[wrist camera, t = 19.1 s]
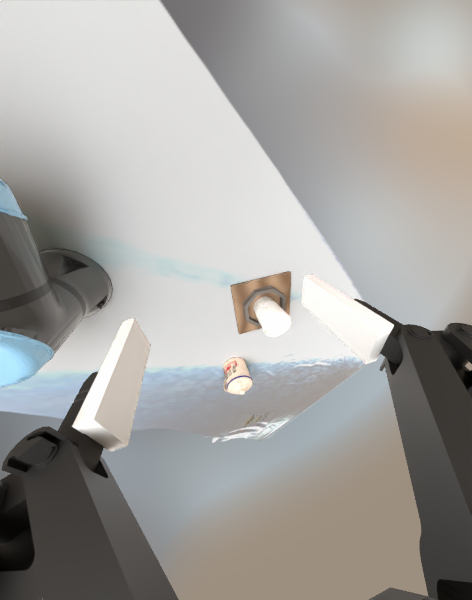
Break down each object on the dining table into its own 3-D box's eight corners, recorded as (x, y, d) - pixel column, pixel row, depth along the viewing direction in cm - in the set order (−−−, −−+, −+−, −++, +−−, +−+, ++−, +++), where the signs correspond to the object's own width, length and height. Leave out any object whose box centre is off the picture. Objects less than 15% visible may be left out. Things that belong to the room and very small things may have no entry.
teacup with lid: (232, 353, 63) (241, 381, 54) (249, 360, 68) (260, 387, 58) (213, 373, 66) (217, 403, 57) (230, 379, 71) (237, 408, 61)
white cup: (251, 318, 55) (263, 339, 47) (251, 297, 51) (264, 316, 43) (274, 313, 56) (289, 333, 48) (275, 292, 52) (292, 310, 44)
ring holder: (238, 331, 58) (240, 337, 56) (230, 285, 49) (232, 290, 46) (287, 318, 61) (291, 323, 58) (289, 271, 51) (294, 275, 49)
